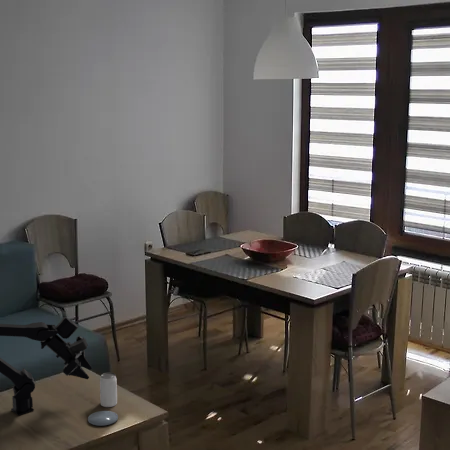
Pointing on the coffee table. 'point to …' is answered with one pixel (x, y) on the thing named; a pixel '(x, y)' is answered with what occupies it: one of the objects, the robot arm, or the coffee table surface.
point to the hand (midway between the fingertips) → (89, 373)
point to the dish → (102, 418)
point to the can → (108, 390)
